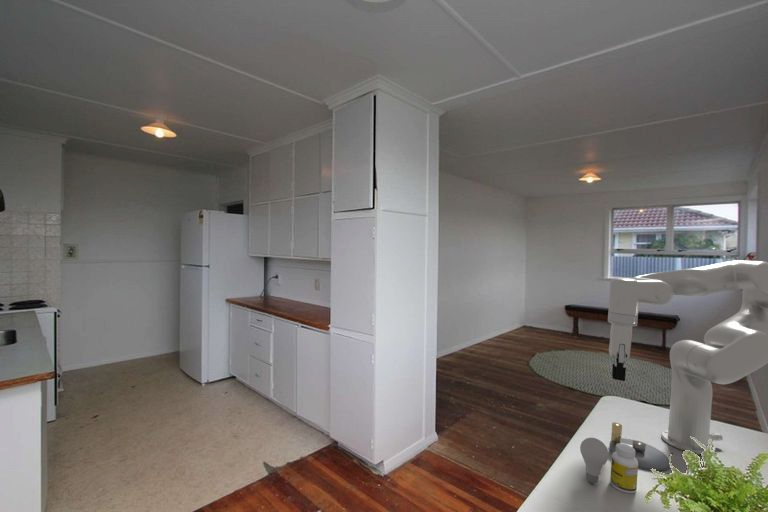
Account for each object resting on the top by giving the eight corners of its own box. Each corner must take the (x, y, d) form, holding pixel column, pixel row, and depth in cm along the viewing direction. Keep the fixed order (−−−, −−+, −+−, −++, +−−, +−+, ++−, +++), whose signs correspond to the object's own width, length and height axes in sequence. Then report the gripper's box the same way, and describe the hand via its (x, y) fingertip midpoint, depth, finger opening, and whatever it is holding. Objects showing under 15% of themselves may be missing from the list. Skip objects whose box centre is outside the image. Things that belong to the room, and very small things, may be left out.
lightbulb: (595, 493, 85) (598, 448, 85) (572, 478, 91) (575, 435, 91) (612, 488, 88) (615, 443, 88) (589, 473, 94) (592, 431, 93)
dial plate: (641, 442, 110) (641, 437, 110) (683, 470, 97) (683, 465, 96) (598, 442, 109) (598, 437, 109) (634, 471, 95) (635, 465, 95)
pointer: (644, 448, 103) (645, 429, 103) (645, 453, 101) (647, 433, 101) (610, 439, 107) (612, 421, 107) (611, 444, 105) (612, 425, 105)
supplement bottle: (605, 478, 91) (607, 440, 91) (627, 480, 91) (629, 442, 91) (618, 493, 86) (621, 453, 86) (641, 495, 86) (644, 454, 86)
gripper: (606, 313, 118) (603, 369, 119) (609, 321, 105) (604, 383, 105) (634, 316, 115) (630, 374, 115) (640, 325, 101) (636, 390, 102)
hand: (618, 378), depth 110 cm, fingers closed
